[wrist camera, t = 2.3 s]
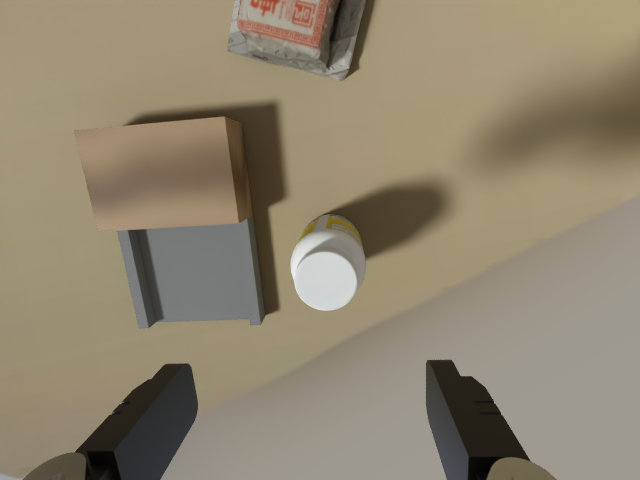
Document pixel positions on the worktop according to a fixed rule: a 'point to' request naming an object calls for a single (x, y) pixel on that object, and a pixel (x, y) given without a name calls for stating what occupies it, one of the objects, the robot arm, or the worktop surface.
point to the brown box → (166, 174)
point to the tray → (194, 273)
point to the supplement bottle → (328, 262)
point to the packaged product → (298, 33)
